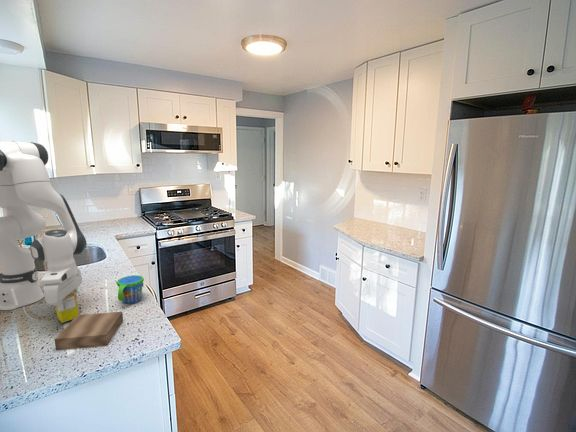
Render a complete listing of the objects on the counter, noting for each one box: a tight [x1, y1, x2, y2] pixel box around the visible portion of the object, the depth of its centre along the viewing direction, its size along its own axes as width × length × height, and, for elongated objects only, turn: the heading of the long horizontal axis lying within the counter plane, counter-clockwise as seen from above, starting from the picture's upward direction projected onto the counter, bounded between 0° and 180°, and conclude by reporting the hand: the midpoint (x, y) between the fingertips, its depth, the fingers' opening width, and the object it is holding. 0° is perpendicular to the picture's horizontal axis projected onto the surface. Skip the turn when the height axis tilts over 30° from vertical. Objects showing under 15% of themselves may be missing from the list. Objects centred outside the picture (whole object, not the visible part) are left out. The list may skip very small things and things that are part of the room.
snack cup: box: [116, 274, 144, 304], centre depth 138 cm, size 16×10×10 cm
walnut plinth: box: [54, 311, 124, 351], centre depth 112 cm, size 16×16×4 cm
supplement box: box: [55, 291, 80, 325], centre depth 122 cm, size 6×6×11 cm
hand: (68, 304), depth 122 cm, fingers open, 8 cm apart
